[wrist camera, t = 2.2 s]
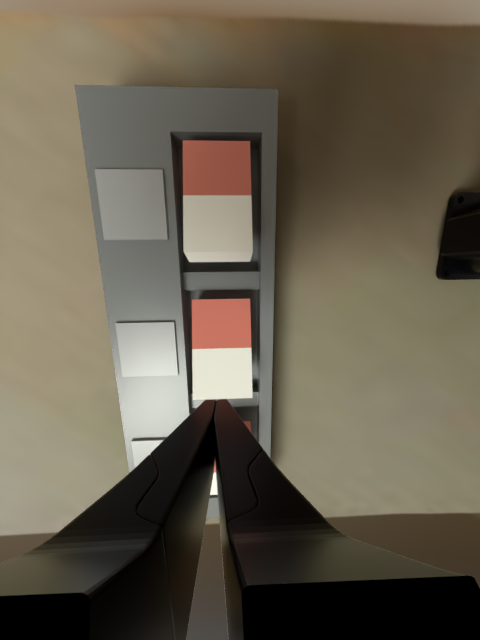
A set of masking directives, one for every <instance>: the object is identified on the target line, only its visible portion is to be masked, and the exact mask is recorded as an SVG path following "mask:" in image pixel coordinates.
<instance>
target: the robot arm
mask: <svg viewBox="0 0 480 640" xmlns="http://www.w3.org/2000/svg"><path fill="white" fill-rule="evenodd" d="M457 199H459V202H457ZM444 272H445V275H444ZM437 278H439V279H442V280H460V279H480V193H458V194H455V195H453V196H452V197H451V198H450V201H449V206H448V211H447V217H446V223H445V228H444V234H443V240H442V245H441V251H440V257H439V263H438V268H437ZM215 463H216V480H217V493H218V506H219V520H220V533H221V545H222V559H223V572H224V586H225V600H226V613H227V626H228V640H480V588H479V586H478V584H477V582H476V581H475V579H474V578H473V577H472V576H467V575H462V574H458V573H454V572H450V571H446V570H443V569H439V568H436V567H433V566H430V565H427V564H425V563H422V562H419V561H416V560H413V559H410V558H407V557H404V556H402V555H399V554H396V553H393V552H390V551H387V550H384V549H382V548H379V547H376V546H373V545H370V544H367V543H364V542H361V541H358V540H356V539H353V538H351V537H348V536H346V535H345V534H343V533H342V532H340V531H339V530H337V529H336V528H335V527H334V526H332V525H331V524H330V523H329V522H328V521H327V520H326V519H325V518H324V517H323V516H322V515H321V514H320V513H319V512H318V511H317V510H316V508H315V507H314V506H313V505H312V504H311V503H310V502H309V501H308V500H307V499H306V498H305V497H304V496H303V495H302V494H301V493H300V492H299V491H298V490H297V489H296V487H295V486H294V485H293V484H292V483H291V482H290V481H289V480H288V479H287V478H286V477H285V476H284V474H283V473H282V472H281V471H280V470H279V469H278V467H277V466H276V465H275V464H274V462H273V461H272V460H271V459H270V457H269V456H268V454H267V453H266V452H265V450H264V449H263V448H262V446H261V445H260V444H259V442H258V441H257V439H256V438H255V437H254V435H253V434H252V433H251V431H250V430H249V428H248V427H247V426H246V424H245V423H244V422H243V420H242V419H241V417H240V416H239V415H238V413H237V412H236V411H235V409H234V408H233V406H232V405H231V404H230V402H229V401H228V400H227V399H217V400H215V399H207V400H204V401H203V402H202V403H201V404H200V405H199V406H198V407H197V408H196V409H195V410H194V411H193V412H192V413H191V414H190V415H189V416H188V417H187V418H186V419H185V420H184V421H183V422H182V423H181V424H180V425H179V426H178V427H177V428H176V429H175V430H174V431H173V432H172V433H171V434H170V435H169V436H168V437H167V438H166V439H164V440H163V441H162V442H161V443H160V444H159V445H158V446H157V447H156V448H155V449H154V450H153V451H152V452H151V453H150V455H148V456H147V457H146V458H145V459H144V460H143V461H142V462H141V463H140V464H139V465H138V466H136V467H135V468H134V469H133V470H132V471H131V472H130V473H129V474H128V475H127V476H126V477H124V478H123V479H122V480H121V481H120V482H119V483H117V484H116V485H115V486H114V487H113V488H112V489H110V490H109V491H108V492H107V493H106V494H104V495H103V496H102V497H101V498H100V499H98V500H97V501H96V502H95V503H93V504H92V505H91V506H90V507H89V508H87V509H86V510H85V511H84V512H82V513H81V514H80V515H79V516H78V517H76V518H75V519H74V520H73V521H72V522H70V523H69V524H68V525H67V526H65V527H64V528H63V529H62V530H61V531H59V532H58V533H57V534H55V535H54V536H53V537H51V538H50V539H49V540H47V541H46V542H44V543H43V544H41V545H40V546H38V547H36V548H34V549H33V550H31V551H29V552H27V553H24V554H22V555H20V556H17V557H15V558H12V559H9V560H6V561H3V562H0V640H186V636H187V630H188V624H189V617H190V612H191V606H192V600H193V593H194V587H195V581H196V576H197V570H198V564H199V558H200V552H201V546H202V540H203V534H204V528H205V522H206V516H207V510H208V504H209V498H210V492H211V486H212V480H213V474H214V467H215Z"/></svg>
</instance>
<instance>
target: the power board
mask: <svg viewBox="0 0 480 640" xmlns="http://www.w3.org/2000/svg"><path fill="white" fill-rule="evenodd" d="M75 90H76V97H77V105H78V112H79V119H80V126H81V133H82V140H83V147H84V154H85V161H86V168H87V175H88V182H89V190H90V197H91V204H92V211H93V218H94V225H95V232H96V239H97V246H98V253H99V260H100V267H101V274H102V282H103V289H104V296H105V303H106V310H107V317H108V324H109V331H110V338H111V345H112V352H113V359H114V366H115V374H116V381H117V388H118V395H119V402H120V409H121V416H122V423H123V430H124V437H125V444H126V451H127V458H128V466H129V473H130V472H131V471H132V470H133V469H134V468H135V467H136V466H138V465H139V464H140V463H141V462H142V461H143V460H144V459H145V458H146V457H147V456H148V455H150V453H151V452H152V451H153V450H154V449H155V448H156V447H157V446H158V445H159V444H160V443H161V442H162V441H163V440H164V439H166V438H167V437H168V436H169V435H170V434H171V433H172V432H173V431H174V430H175V429H176V428H177V427H178V426H179V425H180V424H181V423H182V422H183V421H184V420H185V419H186V418H187V417H188V416H189V415H190V414H191V413H192V412H193V411H194V410H195V409H196V408H197V407H198V406H199V405H200V404H201V403H202V402H203V401H204V400H193V374H192V300H196V299H250V312H251V353H252V394H253V398H237V399H227V400H228V401H229V402H230V404H231V405H232V406H233V408H234V409H235V411H236V412H237V413H238V415H239V416H240V417H241V419H242V420H243V421H250V423H251V433H252V434H253V435H254V437H255V438H256V439H257V441H258V442H259V444H260V445H261V446H262V448H263V449H264V450H265V452H266V453H267V454H268V456H269V457H270V453H271V407H272V362H273V317H274V272H275V226H276V181H277V136H278V91H279V89H262V88H210V87H158V86H106V85H75ZM183 140H194V141H250V159H251V199H252V238H253V253H252V257H251V260H250V262H189V260H188V259H187V257H186V255H185V254H184V252H183ZM206 400H207V399H206ZM215 400H217V399H215ZM207 518H219V506H218V495H210V498H209V504H208V510H207V516H206V519H207Z"/></svg>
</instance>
